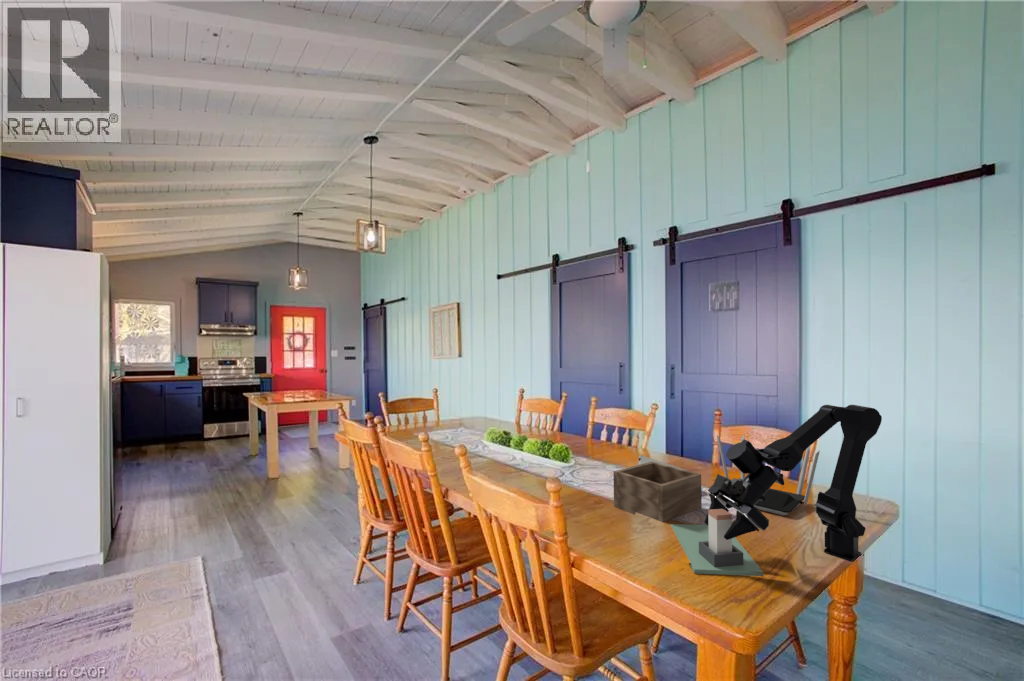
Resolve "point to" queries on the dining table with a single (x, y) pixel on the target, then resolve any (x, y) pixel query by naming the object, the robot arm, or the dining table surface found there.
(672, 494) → the open wooden crate
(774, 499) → the wireless router
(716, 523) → the plug
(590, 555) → the dining table surface
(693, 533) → the board
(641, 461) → the decorative block
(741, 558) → the dark grey tray
